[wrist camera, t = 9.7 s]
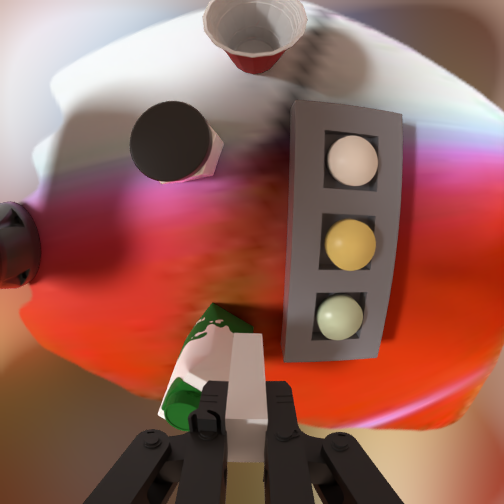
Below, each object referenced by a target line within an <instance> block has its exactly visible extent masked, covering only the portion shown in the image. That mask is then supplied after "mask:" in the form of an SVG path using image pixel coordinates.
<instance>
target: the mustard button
mask: <svg viewBox="0 0 504 504" xmlns="http://www.w3.org/2000/svg"><path fill="white" fill-rule="evenodd" d="M324 245H325V251H326V254H327V255H328V257H329V258H330V260H331V261H332V262H333V263H334V264H335V265H336V266H337V267H339V268H341V269H343V270H346V271H354V270H358V269H361V268H363V267H364V266H365V265H367V264H368V263H369V262H370V260H371V259H372V257H373V255H374V252H375V248H376V240H375V236H374V234H373V232H372V230H371V229H370V228H369V227H368V226H367V225H366V224H364V223H362V222H360V221H357V220H355V219H350V218H349V219H342V220H339V221H337V222H336V223H334V224H333V225H332V226H331V227H330V229H329V230H328V232H327V234H326V237H325V242H324Z"/></svg>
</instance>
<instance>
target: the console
mask: <svg viewBox="0 0 504 504" xmlns="http://www.w3.org/2000/svg"><path fill="white" fill-rule="evenodd" d="M346 136H359V137H362V138H364V139H365V140H367V141H368V142H369V143H370V144H371V145H372V146H373V148H374V149H375V152H376V154H377V159H378V167H377V171H376V173H375V175H374V177H373V178H372V179H371V180H370V181H369V182H367V183H366V184H364V185H360V186H350V185H344V184H342V183H339V182H338V181H336V180H335V179H334V178H333V177H332V175H331V174H330V172H329V170H328V167H327V163H326V158H327V153H328V150H329V148H330V147H331V145H332V144H333V143H334V142H335V141H337V140H339V139H341V138H344V137H346ZM402 162H403V127H402V114H399V113H394V112H388V111H383V110H377V109H371V108H365V107H358V106H351V105H343V104H335V103H326V102H316V101H305V100H295V102H294V103H293V105H292V107H291V109H290V164H289V199H288V226H287V249H286V269H285V288H284V304H283V320H282V335H281V349H282V355H283V360H284V362H318V361H338V360H353V359H366V358H377V356H378V351H379V347H380V343H381V338H382V334H383V329H384V324H385V319H386V314H387V308H388V303H389V297H390V291H391V285H392V278H393V272H394V264H395V257H396V249H397V240H398V230H399V219H400V206H401V189H402ZM349 218H350V219H355V220H357V221H360V222H362V223H364V224H366V225H367V226H368V227H369V228H370V229H371V230H372V232H373V234H374V236H375V240H376V248H375V252H374V255H373V257H372V259H371V260H370V262H369V263H368V264H367V265H365V266H364V267H363V268H361V269H358V270H354V271H346V270H343V269H341V268H339V267H337V266H336V265H335V264H334V263H333V262H332V261H331V260H330V258H329V257H328V255H327V254H326V251H325V245H324V242H325V237H326V234H327V232H328V230H329V229H330V227H331V226H332V225H333V224H334V223H336V222H337V221H339V220H342V219H349ZM338 293H343V294H347V295H349V296H351V297H352V298H353V299H354V300H355V301H356V302H357V303H358V305H359V306H360V307H361V309H362V312H363V320H362V324H361V326H360V328H359V329H358V330H357V332H356V333H355V334H353V335H352V336H350V337H349V338H347V339H343V340H332V339H329V338H327V337H326V336H324V335H323V333H322V332H321V330H320V328H319V325H318V323H317V320H316V313H317V309H318V307H319V305H320V304H321V302H322V301H323V300H324V299H326V298H327V297H329V296H331V295H333V294H338Z"/></svg>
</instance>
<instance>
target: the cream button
mask: <svg viewBox="0 0 504 504" xmlns="http://www.w3.org/2000/svg"><path fill="white" fill-rule="evenodd" d="M326 163H327V167H328V170H329V172H330V174H331V175H332V177H333V178H334V179H335V180H336V181H338V182H339V183H342V184H344V185H350V186H360V185H364V184H366V183H367V182H369V181H370V180H371V179H372V178H373V177H374V175H375V173H376V171H377V167H378V159H377V154H376V152H375V149H374V148H373V146H372V145H371V144H370V143H369V142H368V141H367V140H365V139H364V138H362V137H359V136H346V137H344V138H341V139H339V140H337V141H335V142H334V143H333V144H332V145H331V147H330V148H329V150H328V153H327V158H326Z"/></svg>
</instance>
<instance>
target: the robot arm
mask: <svg viewBox="0 0 504 504" xmlns="http://www.w3.org/2000/svg"><path fill="white" fill-rule="evenodd" d="M40 256H41V248H40V240H39V235H38V231H37V228H36V226H35V223H34V221H33V219H32V217H31V216H30V214H29V213H28V212H27V210H26V209H25V208H24V207H22V206H21V205H20V204H18V203H15V202H4V203H0V289H15V288H19V287H21V286H23V285H25V284H27V283H29V282H30V281H31V280H32V279H33V278H34V277H35V275H36V273H37V271H38V268H39V264H40ZM188 424H189V430H190V431H189V432H187V433H185V434H183V435H177V436H169V437H168V436H167V435H166V433H164V432H162V431H160V430H155V429H151V430H145V431H143V432H141V433H140V434H138V435H137V436H136V438H135V439H134V440H133V441H132V443H131V444H130V445H129V446H128V448H127V449H126V450H125V452H124V453H123V454H122V455H121V457H120V458H119V459H118V461H117V462H116V463H115V464H114V466H113V467H112V468H111V469H110V470H109V472H108V473H107V474H106V475H105V477H104V478H103V479H102V480H101V482H100V483H99V484H98V486H97V487H96V488H95V489H94V490H93V492H92V493H91V494H90V495H89V497H88V498H87V499H86V500H85V501H84V503H83V504H166V503H167V502H168V500H169V498H170V496H171V495H172V493H173V491H174V489H175V488H176V486H177V484H178V482H179V487H178V492H177V497H176V502H175V504H225V501H226V485H227V462H264V465H265V466H264V477H263V482H264V487H265V488H264V489H265V504H315V503H314V496H313V491H312V485H311V483H312V484H313V486H314V488H315V490H316V492H317V493H318V495H319V497H320V499H321V501H322V503H323V504H404V503H403V502H402V500H401V499H400V498H399V496H398V495H397V494H396V492H395V491H394V490H393V488H392V487H391V486H390V484H389V483H388V482H387V480H386V479H385V478H384V477H383V475H382V474H381V472H380V471H379V470H378V468H377V467H376V466H375V464H374V463H373V462H372V460H371V459H370V458H369V456H368V455H367V454H366V452H365V451H364V450H363V448H362V447H361V445H360V444H359V443H358V442H357V440H356V439H355V438H354V437H353V436H352V435H350V434H347V433H343V432H336V433H331V434H329V435H327V437H326V438H325V439H322V438H316V437H312V436H309V435H307V434H305V433H303V432H302V431H301V430H300V429H299V426H298V423H297V417H296V411H295V406H294V400H293V395H292V389H291V387H290V386H289V385H288V383H287V382H286V381H265V369H264V354H263V339H262V334H259V333H234V337H233V346H232V356H231V365H230V375H229V381H211V380H209V381H208V382H207V383H206V384H205V385H204V386H203V389H202V393H201V398H200V403H199V407H198V409H196V410H194V411H192V412H191V413H190V414H189V416H188Z"/></svg>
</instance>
